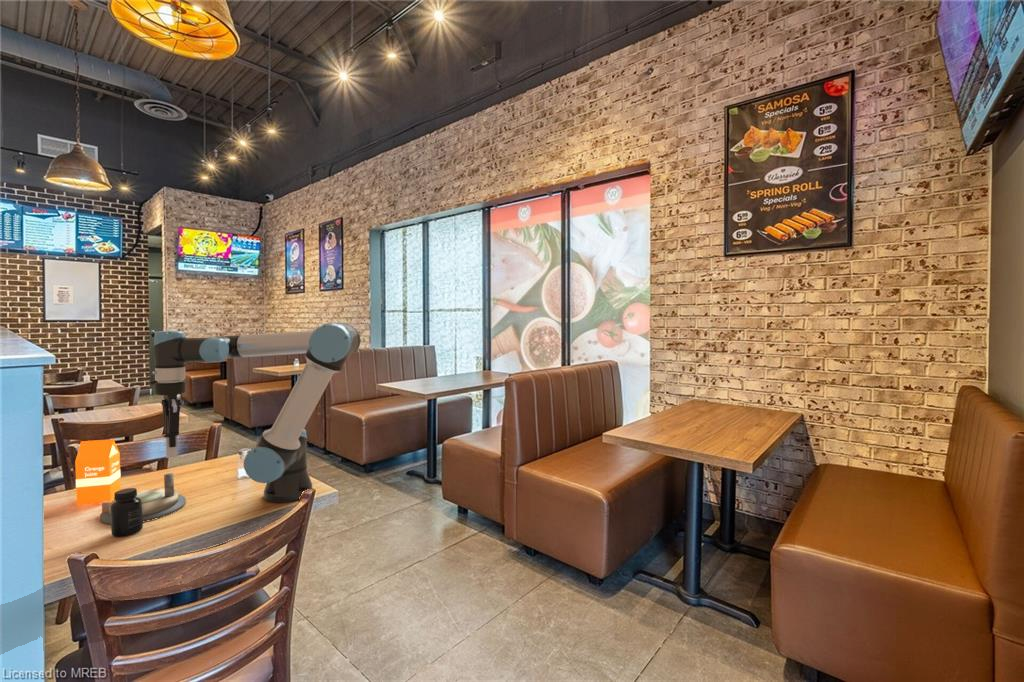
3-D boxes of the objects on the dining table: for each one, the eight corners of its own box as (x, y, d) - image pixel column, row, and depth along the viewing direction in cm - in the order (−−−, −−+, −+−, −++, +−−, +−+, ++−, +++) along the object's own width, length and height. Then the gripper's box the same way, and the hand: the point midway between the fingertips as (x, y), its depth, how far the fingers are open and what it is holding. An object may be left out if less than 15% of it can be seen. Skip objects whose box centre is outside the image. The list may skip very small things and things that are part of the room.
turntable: (185, 492, 153) (184, 465, 153) (168, 513, 138) (167, 482, 137) (122, 499, 147) (122, 471, 147) (97, 521, 131) (96, 489, 131)
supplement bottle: (143, 524, 133) (142, 484, 132) (142, 533, 127) (141, 491, 127) (112, 531, 128) (110, 489, 128) (110, 540, 123) (108, 497, 122)
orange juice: (88, 496, 152) (86, 438, 151) (121, 493, 155) (119, 436, 154) (76, 505, 145) (74, 444, 144) (110, 502, 148) (108, 442, 147)
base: (193, 493, 156) (193, 482, 156) (173, 518, 136) (173, 506, 136) (118, 501, 148) (117, 489, 148) (85, 530, 129) (84, 516, 129)
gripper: (151, 379, 140) (152, 454, 141) (159, 384, 131) (160, 464, 132) (180, 377, 146) (181, 449, 147) (190, 382, 137) (191, 458, 138)
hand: (171, 456), depth 140 cm, fingers closed
